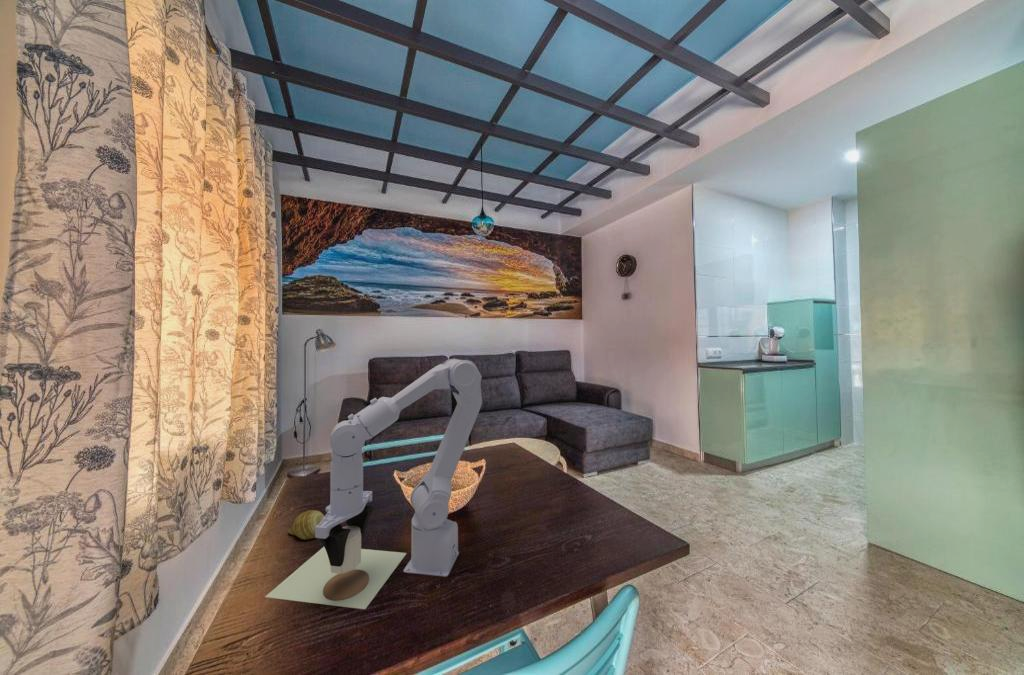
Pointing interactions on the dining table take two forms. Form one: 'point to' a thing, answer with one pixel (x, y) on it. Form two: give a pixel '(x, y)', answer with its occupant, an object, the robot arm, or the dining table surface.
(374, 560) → the placemat
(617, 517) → the dining table surface
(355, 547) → the cup
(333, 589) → the coaster
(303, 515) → the seashell
